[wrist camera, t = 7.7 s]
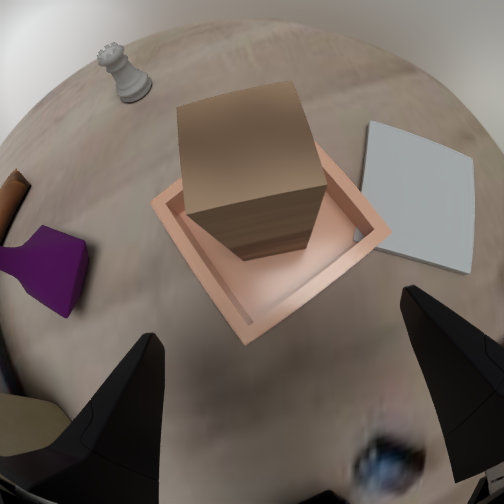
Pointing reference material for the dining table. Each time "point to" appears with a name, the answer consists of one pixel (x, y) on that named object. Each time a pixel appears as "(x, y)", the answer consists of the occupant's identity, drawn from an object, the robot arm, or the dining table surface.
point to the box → (277, 266)
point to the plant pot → (28, 424)
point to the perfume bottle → (49, 268)
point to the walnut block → (251, 170)
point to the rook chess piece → (124, 73)
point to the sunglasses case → (11, 198)
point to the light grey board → (420, 197)
